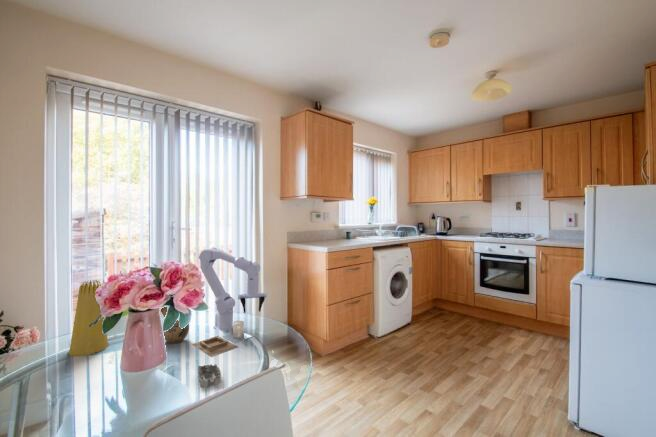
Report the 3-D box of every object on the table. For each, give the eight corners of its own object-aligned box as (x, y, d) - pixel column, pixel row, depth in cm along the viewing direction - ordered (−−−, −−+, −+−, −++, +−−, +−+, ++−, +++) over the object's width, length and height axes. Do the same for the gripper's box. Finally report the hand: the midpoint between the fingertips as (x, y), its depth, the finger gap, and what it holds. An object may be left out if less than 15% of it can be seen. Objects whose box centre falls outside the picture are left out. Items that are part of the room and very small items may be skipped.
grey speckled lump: (221, 385, 104) (221, 374, 104) (198, 390, 101) (198, 378, 101) (218, 370, 114) (218, 360, 114) (197, 374, 110) (197, 363, 110)
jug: (232, 335, 145) (233, 321, 145) (243, 334, 147) (243, 320, 147) (233, 342, 137) (233, 327, 137) (244, 341, 139) (244, 326, 139)
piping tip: (115, 345, 132) (116, 279, 131) (79, 358, 119) (80, 286, 119) (98, 339, 137) (99, 276, 137) (61, 351, 125) (63, 282, 125)
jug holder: (191, 345, 134) (191, 340, 134) (217, 337, 144) (217, 332, 144) (211, 358, 122) (211, 353, 122) (238, 348, 133) (238, 343, 132)
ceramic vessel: (196, 338, 142) (197, 287, 142) (188, 346, 133) (190, 292, 133) (162, 338, 141) (163, 286, 141) (151, 346, 132) (153, 291, 132)
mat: (222, 337, 143) (222, 336, 143) (241, 331, 152) (241, 330, 152) (234, 344, 136) (234, 343, 136) (254, 337, 145) (254, 336, 145)
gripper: (238, 288, 147) (238, 315, 147) (267, 287, 152) (267, 312, 152) (238, 285, 154) (237, 311, 154) (265, 284, 159) (265, 308, 159)
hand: (252, 311), depth 153 cm, fingers open, 7 cm apart
